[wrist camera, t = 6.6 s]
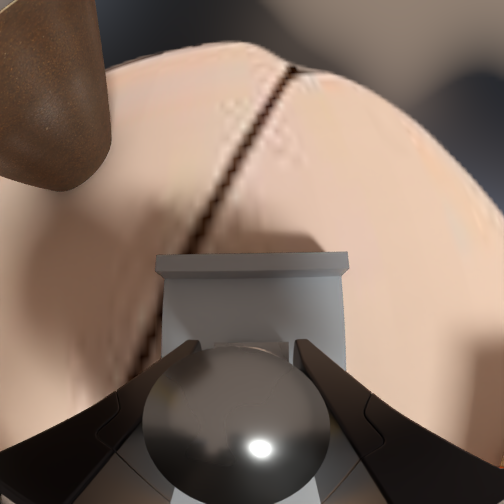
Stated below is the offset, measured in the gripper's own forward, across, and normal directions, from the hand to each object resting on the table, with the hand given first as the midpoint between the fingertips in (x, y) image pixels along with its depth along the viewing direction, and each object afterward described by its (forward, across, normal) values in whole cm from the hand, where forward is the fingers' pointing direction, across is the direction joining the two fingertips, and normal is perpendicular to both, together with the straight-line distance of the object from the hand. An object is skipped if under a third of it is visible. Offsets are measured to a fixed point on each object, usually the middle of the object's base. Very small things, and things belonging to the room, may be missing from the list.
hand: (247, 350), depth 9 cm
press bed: (+2, 0, -7) cm, 7 cm away
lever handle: (+4, 0, -6) cm, 7 cm away
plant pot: (+15, -15, +6) cm, 22 cm away
